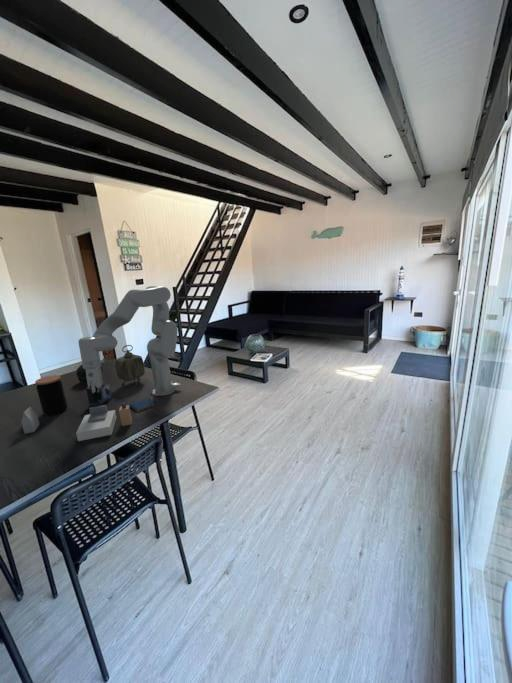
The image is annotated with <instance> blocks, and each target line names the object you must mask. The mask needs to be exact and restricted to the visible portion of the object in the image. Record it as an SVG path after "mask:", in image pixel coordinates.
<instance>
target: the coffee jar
mask: <svg viewBox="0 0 512 683" xmlns="http://www.w3.org/2000/svg"><path fill="white" fill-rule="evenodd" d="M34 383H35V385H36V388H35V389H36V391H37V394H38V400H39V403H40V406H41V410H42V413H43V414H44V415H45V416H49V417H53V416H56V415H57V416H58V415H61V414H62V413H64V412H66V411H67V409H68V401H67V397H66V394H65V389H64V386H63V381H62V380H61V375H57V374H56V375H55V374H54V375H53V374H52V375H48V376H43V377H40V378H38V379H36V380H35V381H34Z"/></svg>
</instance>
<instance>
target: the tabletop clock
mask: <svg viewBox="0 0 512 683" xmlns="http://www.w3.org/2000/svg"><path fill="white" fill-rule="evenodd" d="M126 347H131V349H126V350H124V349H125V348H126ZM133 349H134V347H133V345H131V344H125V345H124V346H123V347H122V349H121V352H123V353H124V355H123V356H120V357H118V358H116V360H115V372H116V375H117V378H118V379H119V380H122V381H123V383H121V386H125V383H126V382H131V381H133V384H134V385H137V384H138V382H137V381H136V380H138V381H140V380H141V377H143V376H144V375H145V372H146V371H145V363H144V360H143V357H142V356H141V355H137V354H133V352H131V351H132V350H133Z"/></svg>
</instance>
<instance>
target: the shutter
mask: <svg viewBox="0 0 512 683" xmlns="http://www.w3.org/2000/svg"><path fill="white" fill-rule="evenodd" d="M107 407H108V406H107V404H102V405H101V406H97V407H95V406H90V407H89V408H88V409H89V414H91V415H90V417H89V419H88V422H93V421H99V420H104V419H105V418H106V416H107V413H108V411H109V410H108V408H107Z"/></svg>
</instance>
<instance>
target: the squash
mask: <svg viewBox="0 0 512 683" xmlns="http://www.w3.org/2000/svg"><path fill="white" fill-rule="evenodd" d="M100 368H101V372H102V374H103V373H104V372H103V370H104V369H103V368H102V365H101V366H100ZM75 374H76V377H77V379H78V381H79V382H80V383H86V384H87V378H86V369H84V368H83V365H82V364H81V365H79V366H78V368H76V373H75Z"/></svg>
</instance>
